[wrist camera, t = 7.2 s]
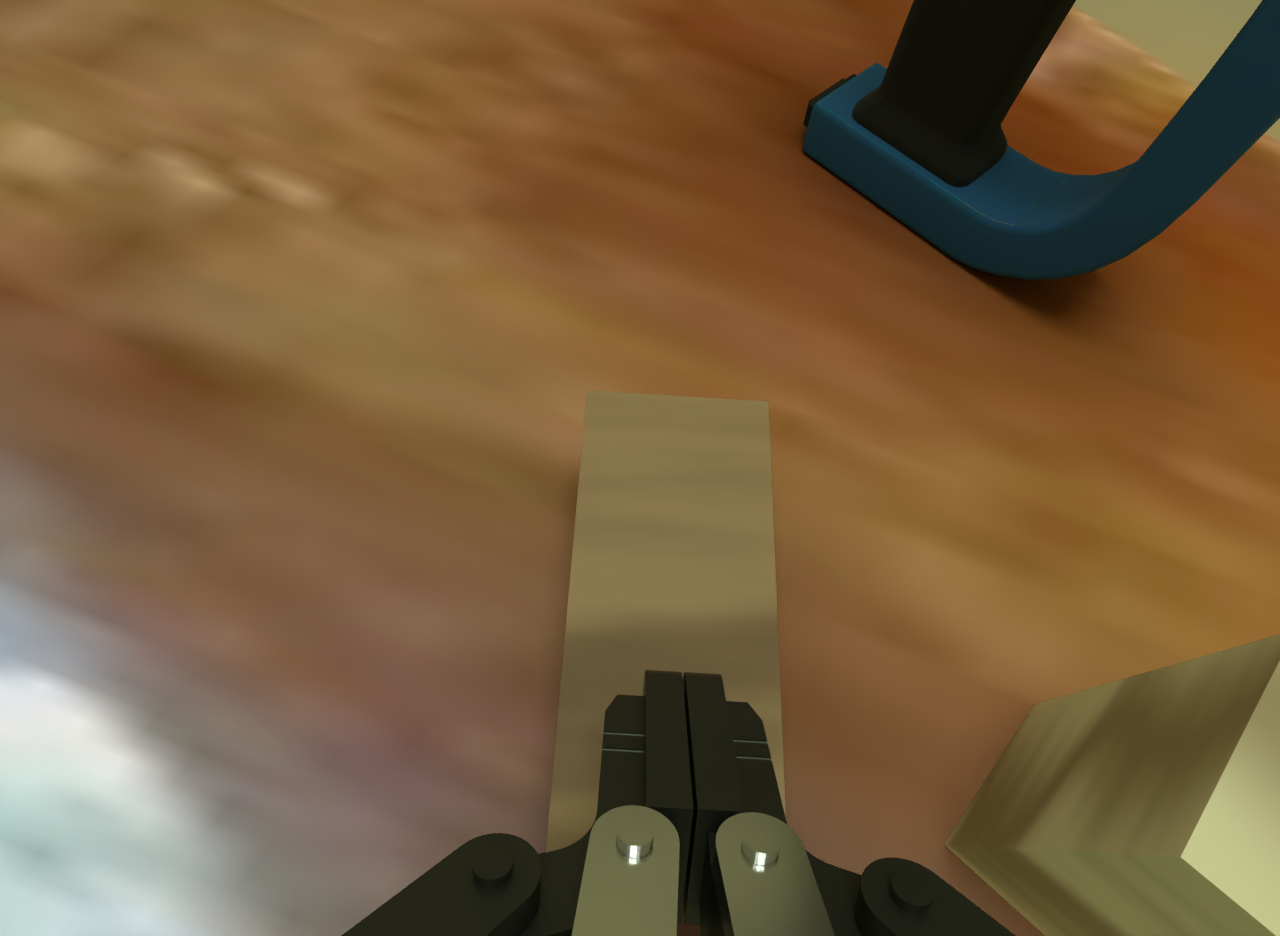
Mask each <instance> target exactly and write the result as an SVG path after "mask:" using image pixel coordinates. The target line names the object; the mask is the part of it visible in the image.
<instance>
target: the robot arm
mask: <svg viewBox="0 0 1280 936" xmlns="http://www.w3.org/2000/svg"><path fill="white" fill-rule="evenodd" d="M682 905H683V907H684V924H700V928H701V936H1015V935H1014V934H1012V933H1011V932H1010V931H1009V930H1007V929H1006V928H1005V927H1003V926H1002V925H1001V924H999V923H998V922H997V921H996V920H994V919H993V918H992V917H990V916H989V915H988V914H987V913H985V912H984V911H983V910H981V909H980V908H979V907H978V906H976V905H975V904H974V903H972V902H971V901H970V900H968V899H967V898H966V897H965V896H963V895H962V894H961V893H959V892H958V891H957V890H956V889H954V888H953V887H952V886H950V885H949V884H948V883H947V882H945V881H944V880H943V879H941V878H940V877H939V876H937V875H936V874H935V873H933V872H932V871H930V870H929V869H927V868H925V867H924V866H922V865H920V864H917V863H915V862H912V861H909V860H906V859H900V858H883V859H879V860H876V861H874V862H872V863H871V864H869V865H868V866H867V867H866V868H865V870H864V872H863V874H862V875H859V874H856V873H853V872H850V871H847V870H844V869H841V868H838V867H835V866H833V865H830V864H828V863H825V862H823V861H821V860H819V859H818V858H816V857H814V856H813V855H811V854H810V853H809V852H807V851H806V850H805V848H804V845H803V843H802V841H801V839H800V838H799V836H798V835H797V834H796V832H795V831H794V830H793V829H792V828H791V827H789V826H788V825H787V822H786V818H785V813H784V809H783V805H782V801H781V797H780V792H779V788H778V784H777V780H776V776H775V771H774V767H773V763H772V761H771V754H770V750H769V746H768V744H767V738H766V733H765V729H764V725H763V721H762V719H761V718H760V717H759V716H758V714H757V713H756V712H755V711H754V710H753V708H752V707H751V706H750V705H749V703H748V702H735V701H726V697H725V691H724V685H723V679H722V675H721V674H710V673H694V672H684V674H683V678H682V672H675V671H659V670H645V675H644V686H643V696H635V695H618V694H617V696H616V697H615V698H614V700H613V701H612V702H611V704H610V705H609V706H608V708H607V709H606V710H605V719H604V731H603V743H602V756H601V768H600V781H599V793H598V805H597V814H596V818H595V821H594V823H593V825H592V827H591V828H590V830H589V831H588V832H587V833H586V834H585V835H584V836H583V837H582V838H581V839H579V840H578V841H576V842H575V843H573V844H571V845H569V846H567V847H565V848H562V849H558V850H555V851H550V852H546V853H542V854H537V852H536V851H535V849H534V848H533V847H532V846H531V845H530V844H529V843H528V842H526V841H525V840H523V839H521V838H519V837H517V836H514V835H510V834H503V833H494V834H487V835H482V836H479V837H476V838H474V839H472V840H470V841H468V842H466V843H465V844H463V845H462V846H460V847H459V848H458V849H456V850H455V851H454V852H452V853H451V854H450V855H448V856H447V857H446V858H444V859H443V860H442V861H440V862H439V863H438V864H436V865H435V866H434V867H432V868H431V869H430V870H428V871H427V872H426V873H424V874H423V875H422V876H420V877H419V878H418V879H416V880H415V881H414V882H412V883H411V884H410V885H408V886H407V887H406V888H404V889H403V890H402V891H400V892H399V893H398V894H396V895H395V896H394V897H392V898H391V899H390V900H388V901H387V902H386V903H384V904H383V905H382V906H381V907H379V908H378V909H377V910H375V911H374V912H373V913H371V914H370V915H369V916H367V917H366V918H365V919H363V920H362V921H361V922H359V923H358V924H357V925H355V926H354V927H353V928H351V929H350V930H349V931H347V932H346V933H345V934H343V935H342V936H676V935H677V924H680V922H681V914H682Z"/></svg>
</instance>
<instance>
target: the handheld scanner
mask: <svg viewBox="0 0 1280 936" xmlns="http://www.w3.org/2000/svg"><path fill="white" fill-rule="evenodd" d="M1075 1H1076V0H914V2H913V4H912V7H911V9H910V12H909V14H908V17H907V19H906V22H905V24H904V27H903V29H902V32H901V35H900V37H899V40H898V42H897V45H896V48H895V50H894V53H893V55H892V58H891V61H890V63H889V66H888V68H887V69H886V68H885V67H883V66H882V65H880V64H878V63H876V64H873V65H872V66H870V67H869V68H867V69H866V70H864V71H863V72H861V73H860V74H858V75H855V74H853V75H851V76H850V77H848V78H847V79H842V80H840V81H839V82H837V83H836V84H834V85H833V86H831V87H830V88H828V89H827V90H825V91H824V92H822V93H821V94H819V95H818V96H816V97H814V98H813V99H811V100H810V101H809V104H808V108H807V112H806V116H805V120H804V124H803V125H805V126H806V127H807V131H806V135H805V139H804V143H803V151H804V152H805V153H807V154H808V155H809V156H811V157H812V158H813V159H815V160H816V161H818V162H819V163H820V164H822V165H823V166H825V167H826V168H827V169H829V170H830V171H832V172H833V173H834V174H836V175H837V176H838V177H840V178H841V179H843V180H844V181H845V182H847V183H848V184H850V185H851V186H852V187H854V188H855V189H857V190H858V191H859V192H861V193H862V194H864V195H865V196H866V197H868V198H869V199H870V200H872V201H873V202H875V203H876V204H877V205H879V206H880V207H882V208H883V209H884V210H886V211H887V212H889V213H890V214H891V215H893V216H894V217H896V218H897V219H898V220H900V221H901V222H903V223H904V224H905V225H907V226H908V227H909V228H911V229H912V230H914V231H915V232H916V233H918V234H919V235H921V236H922V237H923V238H925V239H926V240H928V241H929V242H930V243H932V244H933V245H935V246H936V247H937V248H939V249H940V250H941V251H943V252H944V253H946V254H947V255H948V256H950V257H951V258H953V259H955V260H957V261H959V262H961V263H963V264H965V265H967V266H969V267H971V268H974V269H978V270H981V271H984V272H987V273H990V274H994V275H999V276H1005V277H1011V278H1017V279H1024V280H1038V279H1061V278H1065V277H1070V276H1075V275H1079V274H1084V273H1088V272H1092V271H1095V270H1097V269H1099V268H1101V267H1104V266H1106V265H1108V264H1111V263H1113V262H1115V261H1117V260H1120V259H1122V258H1124V257H1126V256H1128V255H1129V254H1131V253H1132V252H1134V251H1135V250H1137V249H1138V248H1140V247H1141V246H1143V245H1144V244H1146V243H1147V242H1149V241H1150V240H1152V239H1153V238H1155V237H1156V236H1158V235H1159V234H1160V233H1161V232H1163V231H1164V230H1165V229H1166V228H1167V227H1168V226H1169V225H1171V224H1172V223H1173V222H1174V221H1175V220H1176V219H1177V218H1178V217H1180V216H1181V215H1182V214H1183V213H1184V212H1185V211H1186V210H1188V209H1189V208H1190V207H1191V206H1192V205H1193V204H1194V203H1196V202H1197V201H1198V200H1199V199H1200V198H1201V197H1202V196H1203V194H1204V193H1205V192H1206V191H1207V190H1208V189H1209V188H1210V187H1211V186H1212V185H1213V184H1214V183H1215V182H1216V181H1217V180H1218V179H1219V178H1220V177H1221V176H1222V175H1223V174H1224V173H1225V172H1226V171H1227V170H1228V169H1229V168H1230V167H1231V166H1232V165H1233V164H1234V163H1235V162H1236V161H1237V160H1238V159H1239V158H1240V157H1241V156H1242V155H1243V154H1244V153H1245V152H1246V151H1247V150H1248V149H1249V148H1250V147H1251V146H1252V145H1253V144H1254V143H1255V142H1256V141H1257V140H1258V139H1259V138H1260V137H1261V136H1262V135H1263V134H1264V133H1265V132H1266V131H1267V130H1268V129H1269V128H1270V127H1271V126H1272V125H1273V124H1274V123H1275V122H1276V121H1277V120H1278V119H1279V118H1280V0H1262V2H1261V3H1260V5H1259V6H1258V7H1257V9H1256V10H1255V12H1254V13H1253V15H1252V16H1251V17H1250V19H1249V20H1248V21H1247V23H1246V24H1245V25H1244V27H1243V28H1242V29H1241V31H1240V32H1239V33H1238V34H1237V36H1236V37H1235V38H1234V40H1233V41H1232V42H1231V44H1230V45H1229V46H1228V48H1227V49H1226V50H1225V52H1224V53H1223V54H1222V56H1221V57H1220V58H1219V60H1218V61H1217V62H1216V64H1215V65H1214V66H1213V68H1212V69H1211V70H1210V72H1209V73H1208V74H1207V76H1206V77H1205V78H1204V80H1203V81H1202V82H1201V83H1200V84H1199V86H1198V87H1197V88H1196V89H1195V91H1194V92H1193V93H1192V95H1191V96H1190V97H1189V98H1188V100H1187V101H1186V102H1185V103H1184V105H1183V106H1182V107H1181V108H1180V110H1179V111H1178V112H1177V113H1176V115H1175V116H1174V117H1173V118H1172V120H1171V121H1170V122H1169V123H1168V125H1167V126H1166V127H1165V128H1164V130H1163V131H1162V132H1161V133H1160V134H1159V136H1158V137H1157V138H1156V139H1155V141H1154V142H1153V143H1152V144H1151V146H1150V147H1149V148H1148V149H1147V150H1146V152H1145V153H1144V154H1143V155H1142V156H1141V158H1140V159H1139V160H1138V161H1136V162H1135V163H1133V164H1130V165H1128V166H1126V167H1124V168H1121V169H1119V170H1117V171H1113V172H1108V173H1103V174H1099V175H1070V174H1065V173H1060V172H1055V171H1052V170H1050V169H1047V168H1045V167H1043V166H1041V165H1039V164H1036V163H1035V162H1033V161H1031V160H1030V159H1028V158H1027V157H1025V156H1024V155H1022V154H1020V153H1019V152H1017V151H1016V150H1014V149H1012V148H1011V147H1009V146H1008V145H1007V140H1006V138H1005V135H1004V133H1003V130H1002V128H1001V123H1002V121H1003V120H1004V118H1005V116H1006V114H1007V112H1008V111H1009V109H1010V107H1011V106H1012V104H1013V102H1014V101H1015V99H1016V97H1017V96H1018V94H1019V92H1020V91H1021V89H1022V87H1023V86H1024V84H1025V83H1026V81H1027V79H1028V78H1029V76H1030V74H1031V73H1032V71H1033V69H1034V68H1035V66H1036V65H1037V63H1038V61H1039V60H1040V58H1041V56H1042V55H1043V53H1044V51H1045V50H1046V48H1047V47H1048V45H1049V43H1050V42H1051V40H1052V38H1053V37H1054V35H1055V34H1056V32H1057V30H1058V29H1059V27H1060V25H1061V24H1062V22H1063V20H1064V19H1065V17H1066V16H1067V14H1068V12H1069V11H1070V9H1071V7H1072V6H1073V4H1074V3H1075Z"/></svg>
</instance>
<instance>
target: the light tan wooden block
mask: <svg viewBox="0 0 1280 936" xmlns="http://www.w3.org/2000/svg"><path fill="white" fill-rule="evenodd" d="M645 670H659V671H675V672H682V678H683V674H684V672H694V673H710V674H721V675H722V679H723V685H724V691H725V697H726V701H735V702H748V703H749V705H750V706H751V707H752V708H753V710H754V711H755V712H756V713H757V714H758V716H759V717H760V718H761V719H762V721H763V725H764V729H765V733H766V738H767V744H768V746H769V750H770V754H771V761H772V763H773V767H774V771H775V776H776V780H777V784H778V788H779V792H780V797H781V801H782V805H783V809H784V813H785V818H786V810H785V786H784V762H783V738H782V714H781V691H780V667H779V643H778V619H777V595H776V571H775V547H774V523H773V499H772V475H771V451H770V427H769V403H768V401H752V400H736V399H719V398H703V397H686V396H670V395H653V394H637V393H620V392H604V391H587V395H586V406H585V417H584V428H583V439H582V451H581V462H580V473H579V484H578V495H577V506H576V517H575V529H574V540H573V551H572V562H571V573H570V584H569V596H568V607H567V618H566V629H565V640H564V651H563V662H562V674H561V685H560V696H559V707H558V718H557V729H556V740H555V752H554V763H553V774H552V785H551V796H550V807H549V819H548V830H547V841H546V852H550V851H555V850H558V849H562V848H565V847H567V846H569V845H571V844H573V843H575V842H576V841H578V840H579V839H581V838H582V837H583V836H584V835H585V834H586V833H587V832H588V831H589V830H590V828H591V827H592V825H593V823H594V821H595V818H596V814H597V805H598V793H599V781H600V768H601V756H602V743H603V731H604V719H605V710H606V709H607V708H608V706H609V705H610V704H611V702H612V701H613V700H614V698H615V697H616V696H617V694H618V695H635V696H643V686H644V675H645ZM546 852H545V853H546Z"/></svg>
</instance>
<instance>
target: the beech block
mask: <svg viewBox="0 0 1280 936" xmlns="http://www.w3.org/2000/svg"><path fill="white" fill-rule="evenodd" d="M944 845H945V846H946V847H947V848H948V849H950V850H951V851H952V852H953V853H954V854H955V855H956V856H957V857H958V858H959V859H961V860H962V861H963V862H964V863H965V864H966V865H967V866H968V867H969V868H970V869H972V870H973V871H974V872H975V873H976V874H977V875H978V876H979V877H980V878H982V879H983V880H984V881H985V882H986V883H987V884H988V885H989V886H990V887H991V888H993V889H994V890H995V891H996V892H997V893H998V894H999V895H1000V896H1001V897H1003V898H1004V899H1005V900H1006V901H1007V902H1008V903H1009V904H1010V905H1011V906H1012V907H1014V908H1015V909H1016V910H1017V911H1018V912H1019V913H1020V914H1021V915H1022V916H1023V917H1025V918H1026V919H1027V920H1028V921H1029V922H1030V923H1031V924H1032V925H1033V926H1035V927H1036V928H1037V929H1038V930H1039V931H1040V932H1041V933H1042V934H1043V935H1044V936H1280V634H1279V635H1276V636H1272V637H1269V638H1265V639H1262V640H1258V641H1255V642H1251V643H1248V644H1244V645H1241V646H1237V647H1234V648H1230V649H1227V650H1223V651H1220V652H1216V653H1213V654H1209V655H1206V656H1202V657H1199V658H1195V659H1192V660H1188V661H1185V662H1181V663H1178V664H1174V665H1171V666H1167V667H1164V668H1160V669H1157V670H1153V671H1149V672H1146V673H1142V674H1139V675H1135V676H1132V677H1128V678H1125V679H1121V680H1118V681H1114V682H1111V683H1107V684H1104V685H1100V686H1097V687H1093V688H1090V689H1086V690H1083V691H1079V692H1076V693H1072V694H1069V695H1065V696H1062V697H1058V698H1055V699H1051V700H1048V701H1044V702H1041V703H1037V704H1034V706H1033V707H1032V709H1031V711H1030V712H1029V714H1028V715H1027V717H1026V718H1025V720H1024V721H1023V723H1022V724H1021V726H1020V728H1019V729H1018V731H1017V732H1016V734H1015V735H1014V737H1013V738H1012V740H1011V741H1010V743H1009V745H1008V746H1007V748H1006V749H1005V751H1004V752H1003V754H1002V755H1001V757H1000V759H999V760H998V762H997V763H996V765H995V766H994V768H993V769H992V771H991V772H990V774H989V776H988V777H987V779H986V780H985V782H984V783H983V785H982V786H981V788H980V789H979V791H978V793H977V794H976V796H975V797H974V799H973V800H972V802H971V803H970V805H969V806H968V808H967V810H966V811H965V813H964V814H963V816H962V817H961V819H960V820H959V822H958V823H957V825H956V827H955V828H954V830H953V831H952V833H951V834H950V836H949V837H948V839H947V841H946V842H945V844H944Z"/></svg>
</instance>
